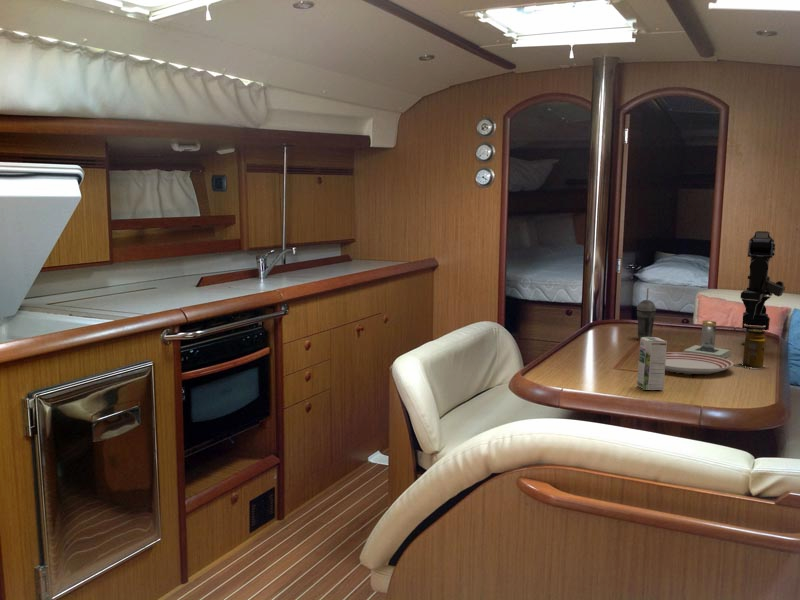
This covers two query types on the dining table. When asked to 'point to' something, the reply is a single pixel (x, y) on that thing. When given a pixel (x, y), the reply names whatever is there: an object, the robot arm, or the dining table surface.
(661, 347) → the syrup box
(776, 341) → the dining table surface
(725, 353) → the white flat square frame
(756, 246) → the robot arm
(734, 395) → the dining table surface
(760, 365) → the condiment
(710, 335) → the jar with gold lid
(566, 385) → the dining table surface
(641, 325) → the beverage cup
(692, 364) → the dinner plate
